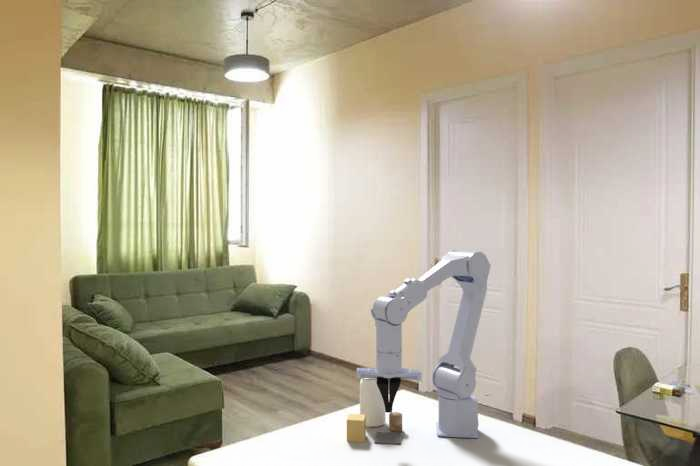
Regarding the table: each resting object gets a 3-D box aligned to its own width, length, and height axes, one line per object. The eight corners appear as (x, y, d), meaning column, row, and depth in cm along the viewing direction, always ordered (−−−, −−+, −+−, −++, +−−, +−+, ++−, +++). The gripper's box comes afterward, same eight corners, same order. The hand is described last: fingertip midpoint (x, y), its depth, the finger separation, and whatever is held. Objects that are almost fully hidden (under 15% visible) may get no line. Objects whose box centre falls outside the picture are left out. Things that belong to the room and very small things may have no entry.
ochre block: (365, 435, 127) (365, 414, 127) (363, 442, 123) (363, 420, 123) (349, 434, 128) (349, 413, 128) (346, 441, 124) (346, 419, 124)
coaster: (401, 434, 128) (401, 432, 128) (400, 444, 122) (400, 442, 122) (376, 433, 128) (376, 431, 128) (374, 443, 122) (374, 441, 122)
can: (386, 428, 132) (386, 379, 132) (359, 427, 132) (359, 379, 132) (384, 418, 138) (384, 372, 138) (359, 418, 138) (359, 372, 138)
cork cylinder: (402, 428, 131) (402, 412, 131) (401, 433, 128) (402, 417, 128) (389, 427, 132) (389, 411, 132) (388, 432, 129) (388, 416, 129)
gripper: (354, 353, 116) (354, 415, 116) (421, 355, 114) (421, 418, 114) (358, 346, 123) (358, 405, 123) (421, 348, 121) (421, 407, 121)
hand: (388, 411), depth 119 cm, fingers closed
